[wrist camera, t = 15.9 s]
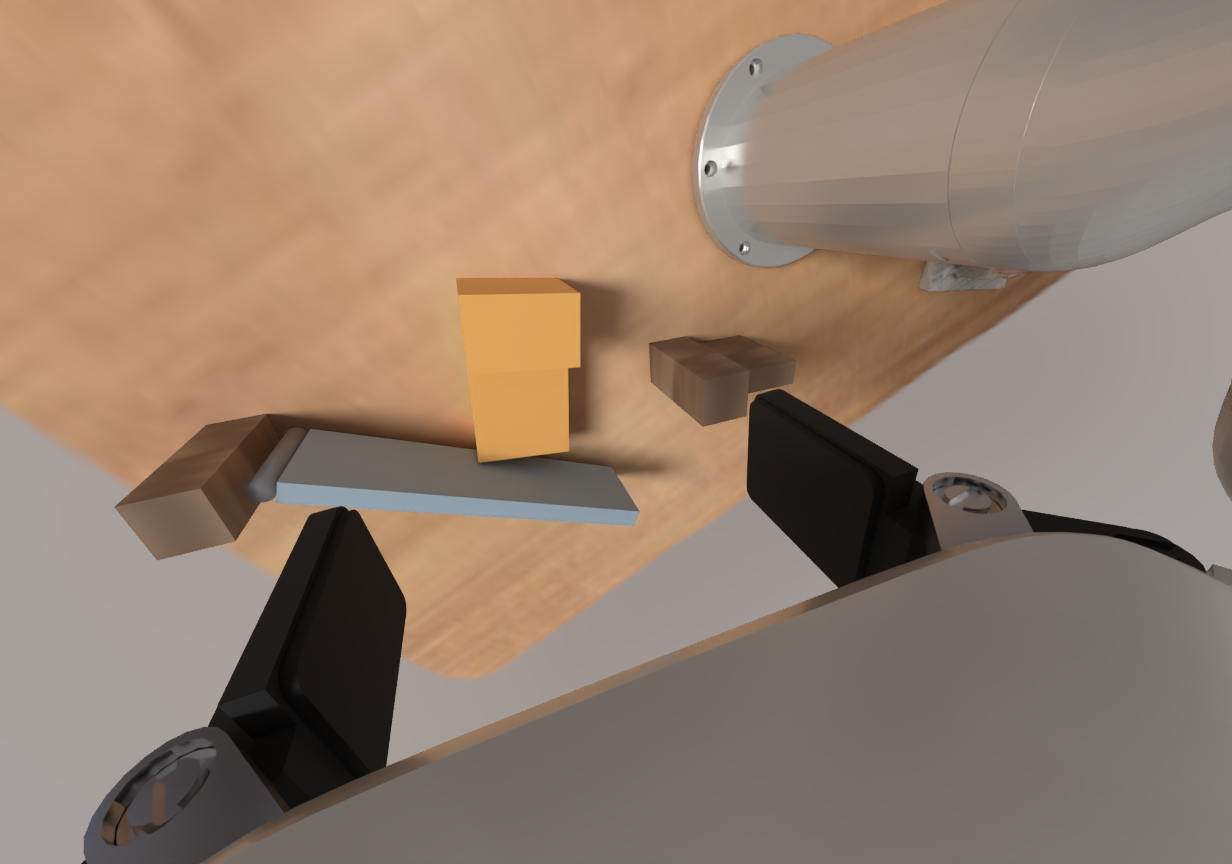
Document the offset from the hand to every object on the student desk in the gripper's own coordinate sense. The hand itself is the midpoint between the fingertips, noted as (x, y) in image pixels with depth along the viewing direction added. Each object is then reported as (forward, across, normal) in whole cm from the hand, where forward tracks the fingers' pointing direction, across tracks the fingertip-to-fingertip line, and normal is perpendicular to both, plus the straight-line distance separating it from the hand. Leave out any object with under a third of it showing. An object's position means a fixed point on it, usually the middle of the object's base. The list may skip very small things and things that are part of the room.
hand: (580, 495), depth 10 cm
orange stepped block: (+20, 0, +3) cm, 21 cm away
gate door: (+19, +5, +9) cm, 22 cm away
